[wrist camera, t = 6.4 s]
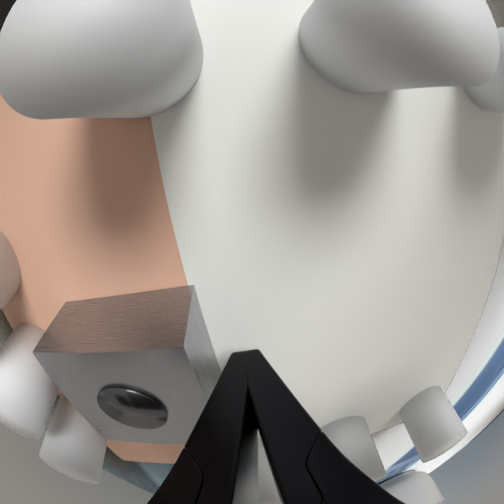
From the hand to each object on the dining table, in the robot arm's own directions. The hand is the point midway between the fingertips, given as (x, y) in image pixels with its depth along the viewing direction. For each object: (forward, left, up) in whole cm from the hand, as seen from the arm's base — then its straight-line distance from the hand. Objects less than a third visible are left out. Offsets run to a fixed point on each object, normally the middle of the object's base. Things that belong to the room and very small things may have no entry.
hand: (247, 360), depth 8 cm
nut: (+3, 0, -1) cm, 3 cm away
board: (-1, 0, -2) cm, 2 cm away
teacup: (-15, +36, -2) cm, 39 cm away
